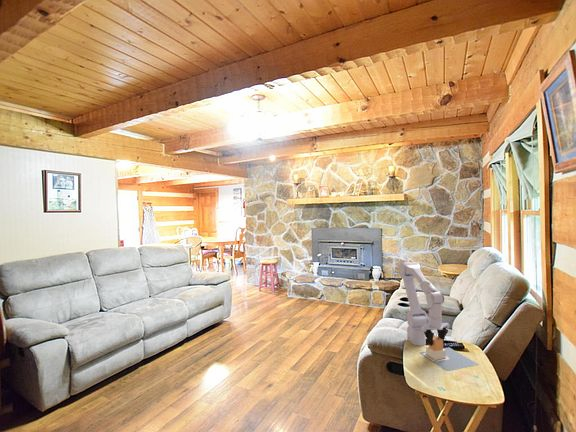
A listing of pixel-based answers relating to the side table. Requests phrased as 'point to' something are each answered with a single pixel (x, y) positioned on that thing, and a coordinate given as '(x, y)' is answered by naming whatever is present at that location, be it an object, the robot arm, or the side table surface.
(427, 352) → the base block
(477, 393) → the side table surface
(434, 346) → the orange block
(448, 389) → the side table surface
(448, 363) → the board
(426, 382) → the side table surface
